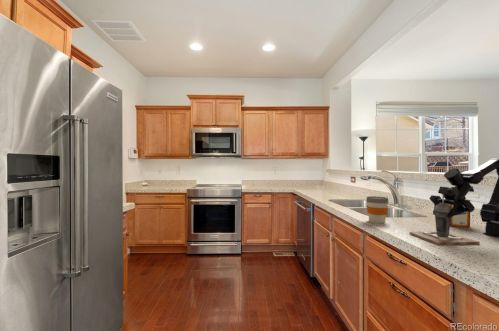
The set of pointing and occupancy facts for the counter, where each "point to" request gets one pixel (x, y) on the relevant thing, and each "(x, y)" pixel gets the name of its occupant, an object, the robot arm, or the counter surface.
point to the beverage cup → (442, 218)
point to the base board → (444, 238)
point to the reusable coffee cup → (377, 208)
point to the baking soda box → (460, 219)
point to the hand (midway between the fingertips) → (440, 215)
